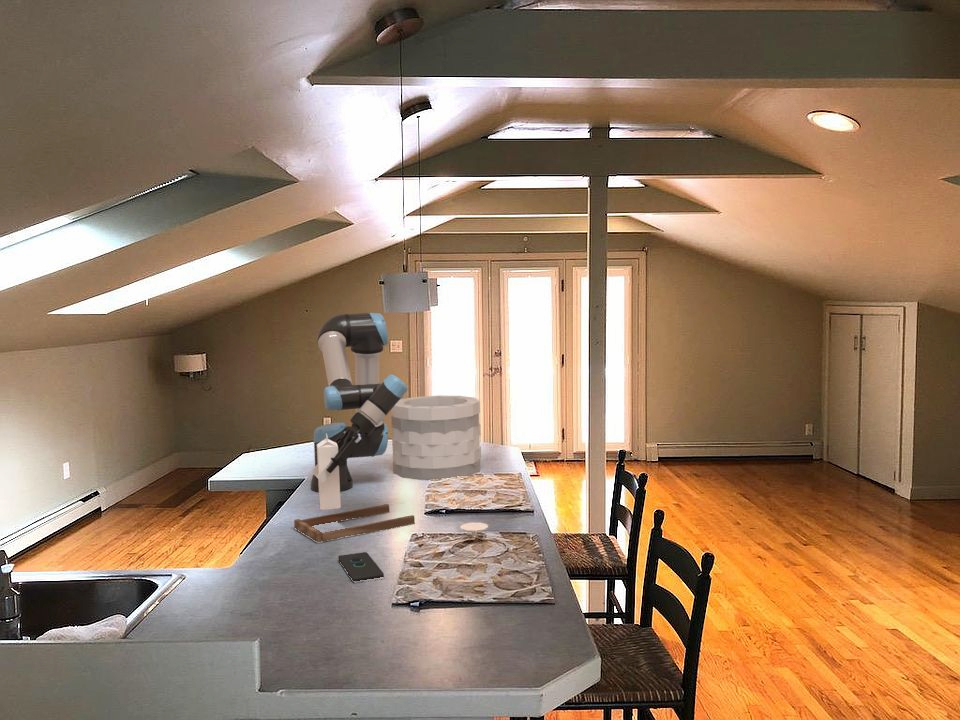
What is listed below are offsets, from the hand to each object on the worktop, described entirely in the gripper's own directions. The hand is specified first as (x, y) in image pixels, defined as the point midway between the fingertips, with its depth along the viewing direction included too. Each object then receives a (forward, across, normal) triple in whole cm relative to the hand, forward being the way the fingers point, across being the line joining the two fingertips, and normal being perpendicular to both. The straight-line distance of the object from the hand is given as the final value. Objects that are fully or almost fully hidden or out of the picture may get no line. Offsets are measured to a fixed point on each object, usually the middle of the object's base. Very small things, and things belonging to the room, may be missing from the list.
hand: (316, 477), depth 255 cm
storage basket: (-31, +62, -56) cm, 89 cm away
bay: (+4, +2, -20) cm, 21 cm away
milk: (+4, 0, -9) cm, 10 cm away
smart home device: (+11, -37, -14) cm, 41 cm away
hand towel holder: (-14, -34, -39) cm, 54 cm away
